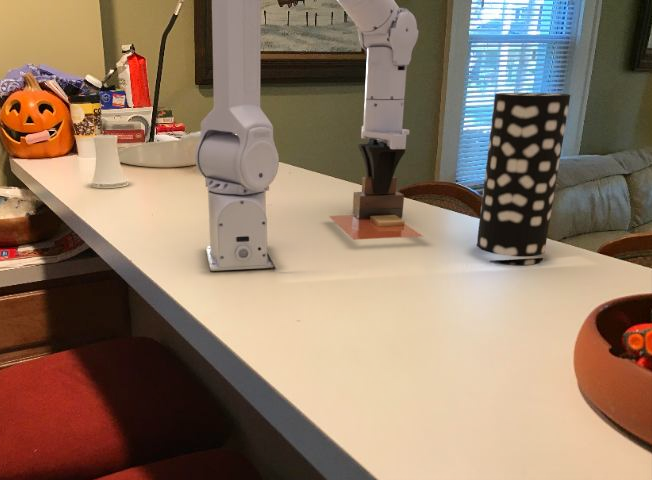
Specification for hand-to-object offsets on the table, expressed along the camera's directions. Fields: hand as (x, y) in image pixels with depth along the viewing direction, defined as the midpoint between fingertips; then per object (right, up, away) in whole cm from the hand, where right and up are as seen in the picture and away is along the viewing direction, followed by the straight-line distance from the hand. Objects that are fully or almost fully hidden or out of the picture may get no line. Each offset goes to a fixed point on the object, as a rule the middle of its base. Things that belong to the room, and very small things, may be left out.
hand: (378, 191), depth 94 cm
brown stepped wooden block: (0, -4, +1) cm, 4 cm away
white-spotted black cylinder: (+14, -11, -14) cm, 23 cm away
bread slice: (+1, -5, -3) cm, 6 cm away
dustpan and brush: (-40, +17, +58) cm, 72 cm away
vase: (-51, +7, +34) cm, 61 cm away
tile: (-2, -7, -4) cm, 8 cm away
